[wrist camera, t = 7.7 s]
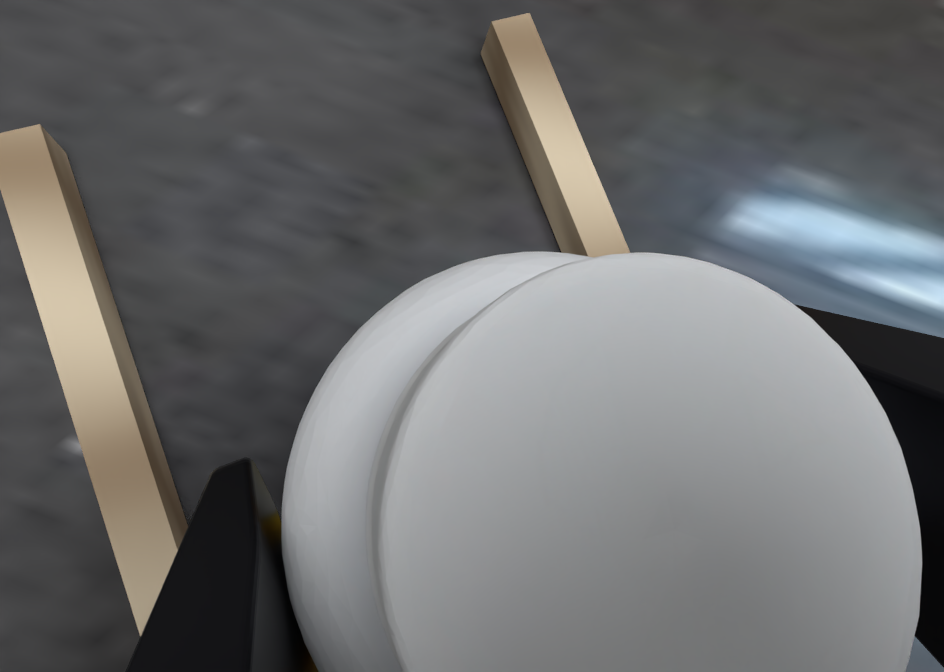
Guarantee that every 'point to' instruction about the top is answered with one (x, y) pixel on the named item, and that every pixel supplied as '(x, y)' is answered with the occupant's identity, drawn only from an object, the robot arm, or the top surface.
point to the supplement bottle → (598, 481)
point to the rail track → (103, 338)
